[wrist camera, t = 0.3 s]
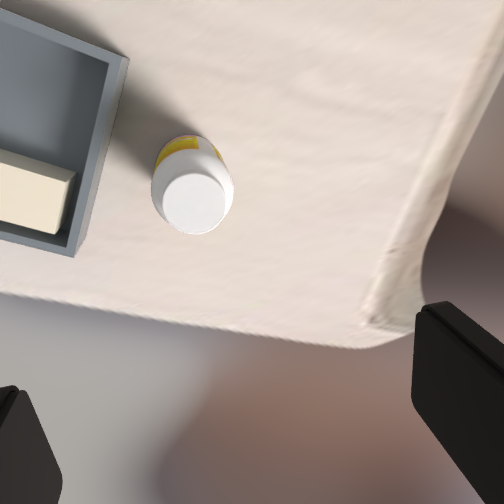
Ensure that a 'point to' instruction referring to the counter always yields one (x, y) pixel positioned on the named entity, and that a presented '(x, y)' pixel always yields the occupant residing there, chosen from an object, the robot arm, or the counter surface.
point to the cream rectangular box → (34, 192)
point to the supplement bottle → (191, 185)
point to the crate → (57, 116)
